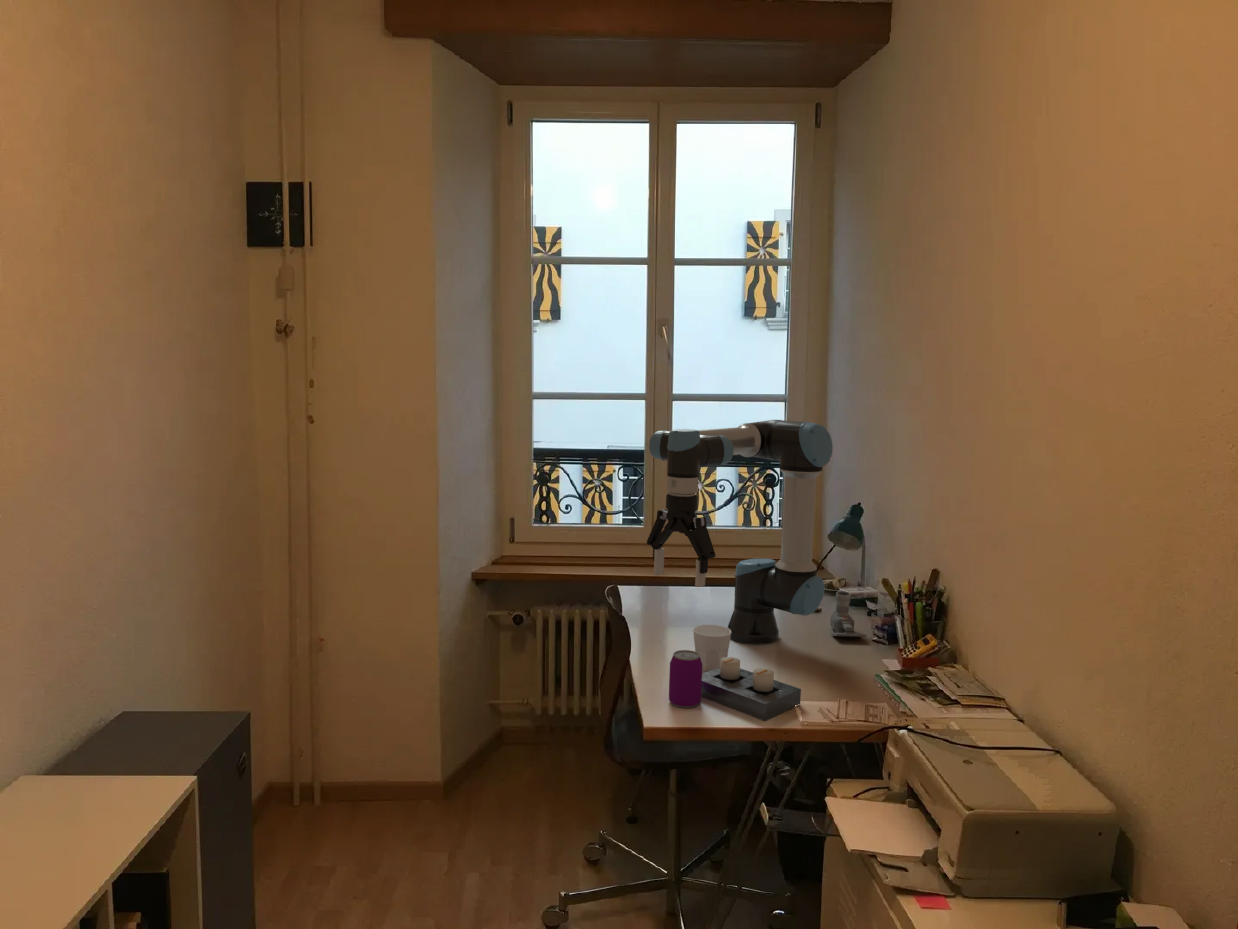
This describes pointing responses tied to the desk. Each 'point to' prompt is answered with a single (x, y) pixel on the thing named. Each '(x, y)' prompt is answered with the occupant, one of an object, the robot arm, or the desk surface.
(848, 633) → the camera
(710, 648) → the cup
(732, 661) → the knob
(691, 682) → the beverage can
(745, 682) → the mount plate
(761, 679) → the knob
